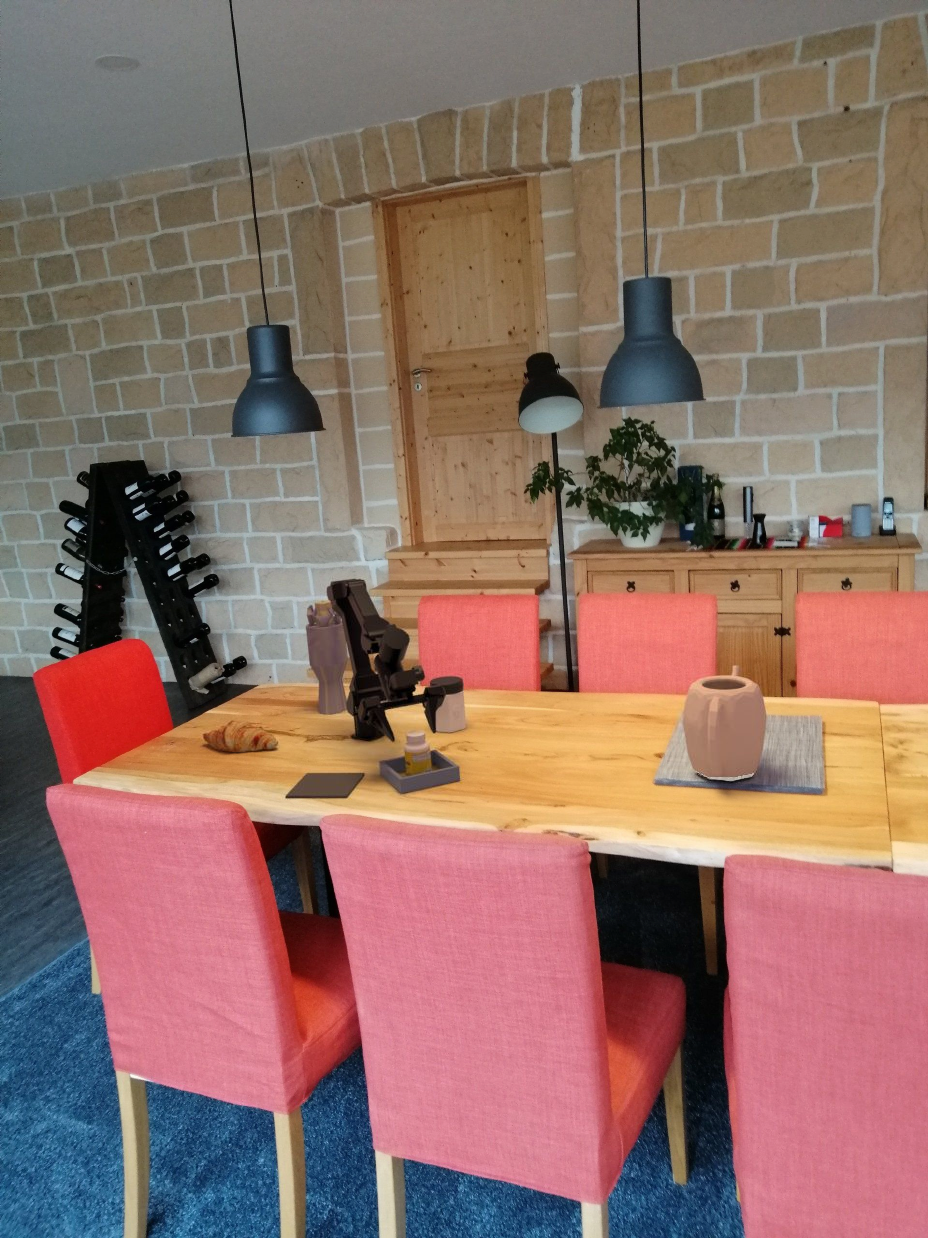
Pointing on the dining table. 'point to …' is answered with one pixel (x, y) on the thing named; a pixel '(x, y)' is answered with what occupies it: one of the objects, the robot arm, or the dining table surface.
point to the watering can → (724, 725)
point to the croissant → (240, 738)
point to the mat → (325, 785)
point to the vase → (327, 655)
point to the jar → (450, 705)
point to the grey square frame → (420, 781)
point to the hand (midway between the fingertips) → (414, 736)
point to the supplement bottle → (417, 753)
